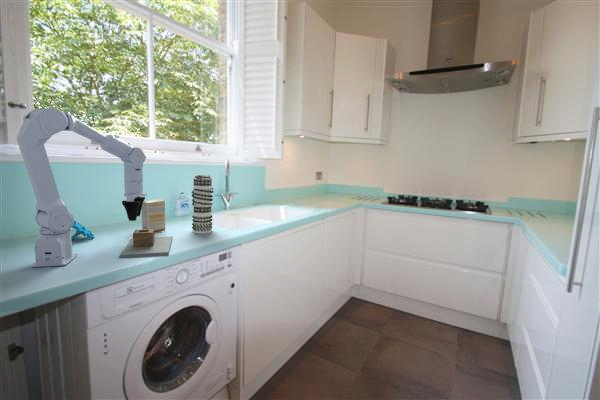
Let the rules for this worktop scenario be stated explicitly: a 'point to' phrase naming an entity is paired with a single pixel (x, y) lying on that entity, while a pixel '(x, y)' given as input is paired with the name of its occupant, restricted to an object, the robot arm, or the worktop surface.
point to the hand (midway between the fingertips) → (134, 218)
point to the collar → (143, 238)
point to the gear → (81, 231)
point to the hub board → (148, 248)
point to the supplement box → (153, 215)
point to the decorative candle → (202, 204)
